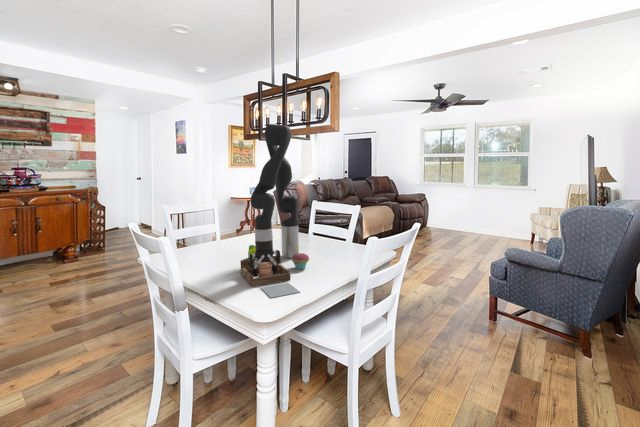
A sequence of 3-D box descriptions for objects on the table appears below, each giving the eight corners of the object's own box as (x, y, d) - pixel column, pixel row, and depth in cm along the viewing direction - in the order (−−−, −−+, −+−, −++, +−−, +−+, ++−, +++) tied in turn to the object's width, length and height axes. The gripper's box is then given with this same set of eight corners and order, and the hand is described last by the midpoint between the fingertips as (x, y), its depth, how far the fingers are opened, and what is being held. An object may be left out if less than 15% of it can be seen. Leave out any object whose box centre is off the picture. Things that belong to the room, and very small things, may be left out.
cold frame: (241, 275, 152) (240, 260, 151) (276, 269, 159) (276, 255, 158) (251, 286, 137) (251, 270, 136) (290, 280, 145) (290, 264, 144)
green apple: (252, 272, 155) (251, 249, 154) (241, 269, 161) (240, 246, 160) (271, 267, 164) (270, 244, 162) (260, 264, 170) (259, 242, 168)
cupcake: (288, 269, 160) (288, 244, 159) (296, 264, 168) (295, 241, 166) (305, 271, 157) (304, 246, 155) (312, 266, 165) (311, 242, 163)
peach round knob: (255, 276, 149) (255, 263, 149) (269, 274, 152) (269, 261, 152) (260, 281, 144) (259, 267, 143) (274, 278, 147) (274, 265, 146)
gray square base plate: (260, 288, 135) (260, 287, 135) (288, 283, 140) (288, 282, 140) (270, 298, 124) (270, 297, 124) (300, 292, 130) (300, 291, 130)
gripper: (276, 235, 152) (277, 270, 154) (245, 239, 146) (246, 275, 148) (282, 238, 146) (283, 274, 148) (250, 242, 139) (251, 280, 141)
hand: (265, 274), depth 148 cm, fingers open, 8 cm apart
